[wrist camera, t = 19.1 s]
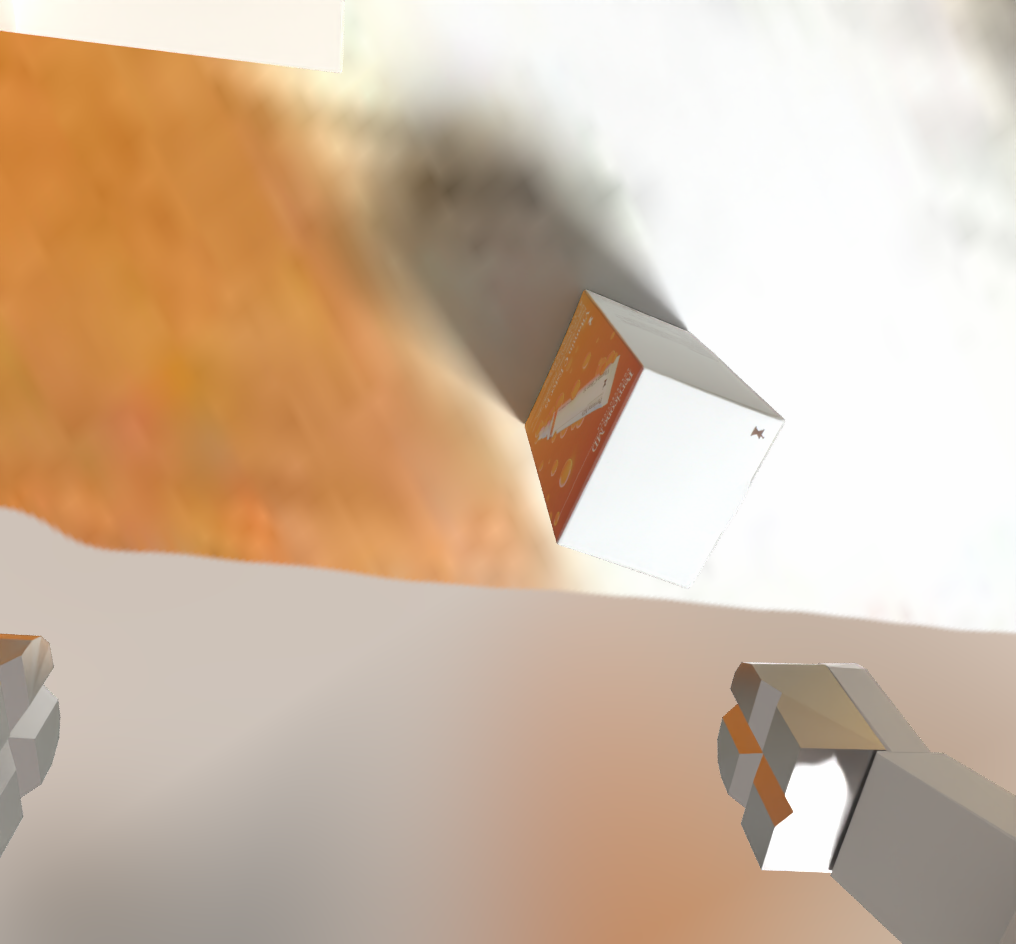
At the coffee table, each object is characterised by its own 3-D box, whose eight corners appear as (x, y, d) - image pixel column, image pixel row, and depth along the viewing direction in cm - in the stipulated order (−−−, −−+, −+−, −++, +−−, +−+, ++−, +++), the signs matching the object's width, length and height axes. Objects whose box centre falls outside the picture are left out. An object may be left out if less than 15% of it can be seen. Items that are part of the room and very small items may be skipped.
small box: (582, 285, 42) (644, 362, 30) (692, 330, 43) (793, 420, 31) (519, 427, 44) (553, 547, 33) (625, 465, 46) (694, 593, 34)
